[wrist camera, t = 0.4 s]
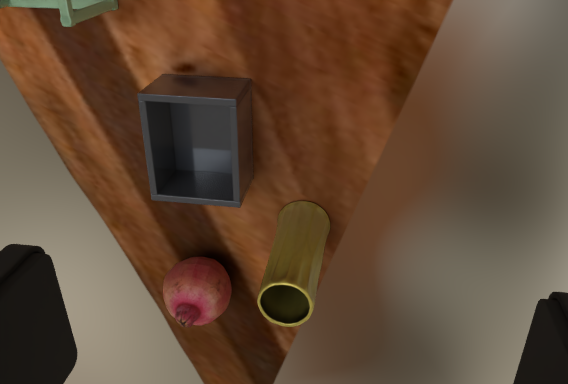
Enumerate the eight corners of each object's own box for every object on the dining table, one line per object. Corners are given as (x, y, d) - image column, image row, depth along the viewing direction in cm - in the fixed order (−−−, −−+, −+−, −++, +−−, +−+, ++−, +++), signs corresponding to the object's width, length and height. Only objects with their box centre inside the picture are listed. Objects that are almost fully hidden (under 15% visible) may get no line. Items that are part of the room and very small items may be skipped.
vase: (302, 253, 62) (283, 340, 49) (267, 218, 60) (238, 299, 48) (341, 227, 59) (332, 311, 47) (305, 190, 57) (286, 267, 45)
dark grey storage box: (162, 73, 53) (137, 93, 48) (251, 78, 52) (235, 99, 46) (173, 171, 59) (151, 200, 53) (253, 178, 58) (240, 208, 52)
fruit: (241, 248, 63) (220, 302, 54) (236, 298, 67) (215, 357, 58) (177, 235, 63) (146, 287, 55) (176, 286, 67) (146, 342, 59)
